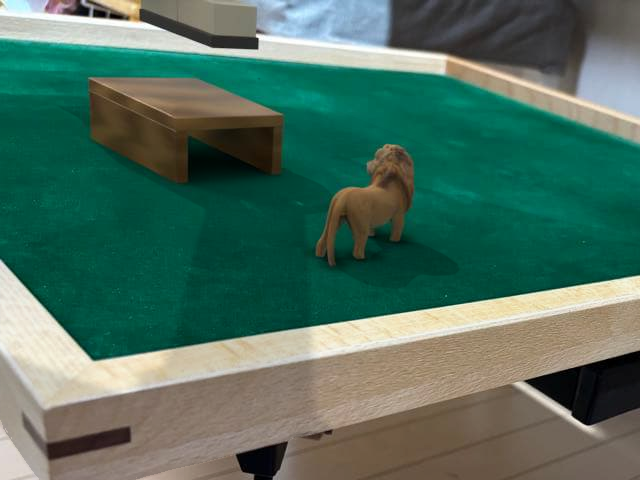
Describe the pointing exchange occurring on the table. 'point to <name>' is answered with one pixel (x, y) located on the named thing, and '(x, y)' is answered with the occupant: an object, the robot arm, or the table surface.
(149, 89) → the low wooden table
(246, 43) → the grey stepped block
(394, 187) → the lion figurine
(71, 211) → the table surface
